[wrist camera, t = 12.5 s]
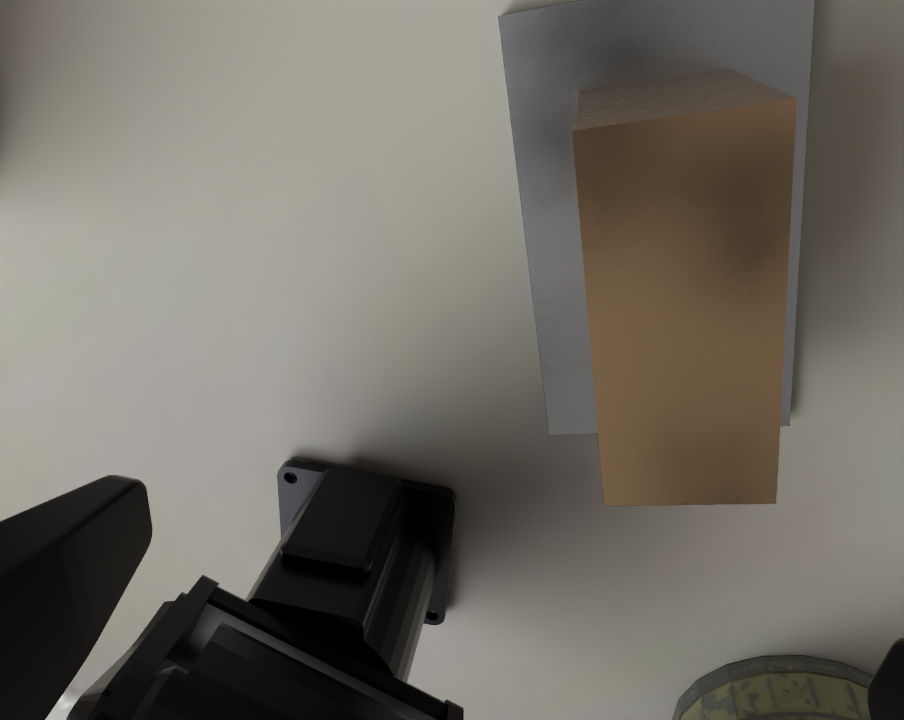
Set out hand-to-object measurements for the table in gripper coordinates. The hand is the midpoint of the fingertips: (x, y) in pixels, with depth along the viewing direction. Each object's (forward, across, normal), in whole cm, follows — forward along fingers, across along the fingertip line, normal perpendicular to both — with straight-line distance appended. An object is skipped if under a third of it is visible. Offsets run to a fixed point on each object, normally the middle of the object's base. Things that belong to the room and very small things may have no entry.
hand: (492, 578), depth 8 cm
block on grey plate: (+13, -3, -1) cm, 13 cm away
